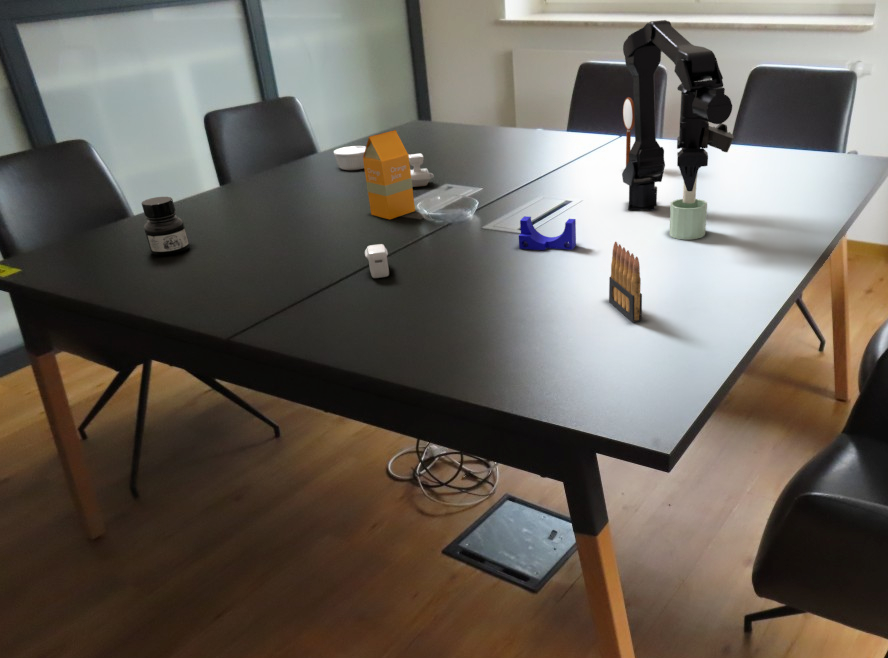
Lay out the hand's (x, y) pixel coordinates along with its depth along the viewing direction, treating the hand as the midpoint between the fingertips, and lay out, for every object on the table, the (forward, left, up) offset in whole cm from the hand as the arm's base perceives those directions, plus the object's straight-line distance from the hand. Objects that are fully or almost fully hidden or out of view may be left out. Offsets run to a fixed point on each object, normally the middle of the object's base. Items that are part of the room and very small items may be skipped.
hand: (689, 189), depth 182 cm
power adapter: (-66, -24, -10) cm, 71 cm away
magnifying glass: (-16, +56, -10) cm, 59 cm away
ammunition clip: (-12, -44, -10) cm, 47 cm away
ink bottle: (-122, -12, -10) cm, 123 cm away
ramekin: (-102, +65, -10) cm, 121 cm away
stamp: (-75, +43, -10) cm, 87 cm away
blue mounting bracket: (-31, -9, -10) cm, 34 cm away
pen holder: (0, 0, -10) cm, 10 cm away
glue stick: (0, 0, -3) cm, 3 cm away
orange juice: (-75, +17, -10) cm, 78 cm away
